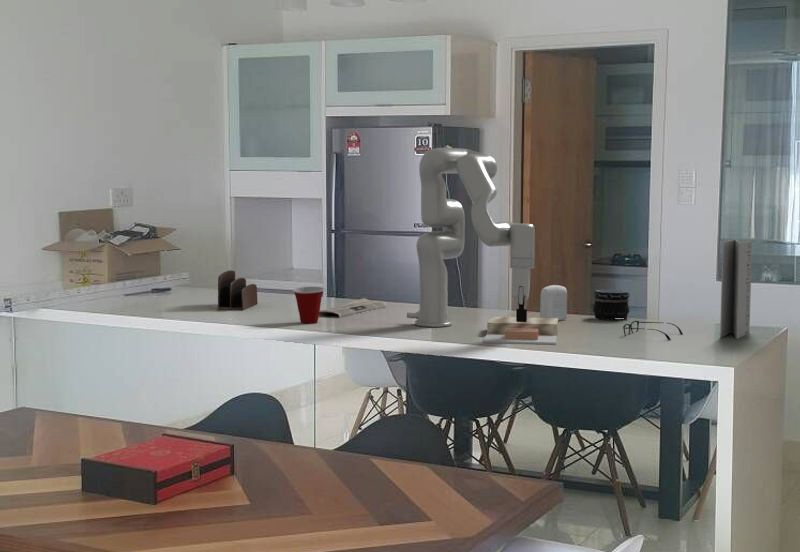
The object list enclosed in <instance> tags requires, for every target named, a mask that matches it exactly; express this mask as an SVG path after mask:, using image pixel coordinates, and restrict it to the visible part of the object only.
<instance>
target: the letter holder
mask: <svg viewBox="0 0 800 552" xmlns="http://www.w3.org/2000/svg"><path fill="white" fill-rule="evenodd" d="M217 281H218V282H217V310H218V311H241V312H242V311H243V312H244V310H247V309H249V308H252V307H254V306H256V305H258V288H257V287H258V286H257V285H256V284H255V283H251V284H248V285H247V279H246V278H244V277H238V278H236V271H235V270H231V269H230V270H227V271H226V270H225V271H224V272H222V273H220V275H218V279H217Z"/></svg>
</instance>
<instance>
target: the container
mask: <svg viewBox="0 0 800 552" xmlns="http://www.w3.org/2000/svg"><path fill="white" fill-rule="evenodd" d="M630 295H631V294H630V293H629V292H628V290H621V289H596V290H595V292H593V297H594V299H593V300H594V305H593V309H592V312H593V313H594V318H595V319H596V320H603V321H625V319H626V320H628V315H629V313H630V308H629V307H630V306H629V301H630V299H629V298H630ZM615 318H624V319H615Z"/></svg>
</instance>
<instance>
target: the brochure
mask: <svg viewBox="0 0 800 552" xmlns="http://www.w3.org/2000/svg"><path fill="white" fill-rule="evenodd" d="M721 253H722V258H721V259H722V260H721V288H720V289H721V291H720V292H721V293H720V294H721V295H720V323H719V325H720V327H719V338H723V337H724V336H727V335H729V334H731V333H732V334H733V335H734V337H735V338H736V339H737V340H738V339H739V338H742V337H744V336H745V335H747V334H748V335H749V334H750V329H751V328H750V324H751V293H752V292H751V290H752V289H751V287H752V263H753V262H752V257H753V240H751V239H750V240H744V241H739V240H737V239H731V240H726V241H722V252H721Z"/></svg>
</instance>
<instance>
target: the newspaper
mask: <svg viewBox="0 0 800 552" xmlns="http://www.w3.org/2000/svg"><path fill="white" fill-rule="evenodd" d="M385 307H387V308H388V305H387V303H386V302H384V301H381V300H380V301H379V300H370V299H367V298H366V297H364V298H363V297H362V298H359V299H358V300H355V301H352V302H349V303H347V304H343V305H340V306H335V307H331V308H327V309H320V312H319V317H324V315H325V316H330V315H336V316H333V318H338V319H341V318H346V316H347V317H351V316H354V315H353V314H356V315H359V314H358V313H360V314H363V313H362V312H365V313H367V312H366V311H369V312H372V311H371V310H374V311H377V310H376V309H378V310H381V309H380V308H383V309H386V308H385ZM350 315H351V316H350Z"/></svg>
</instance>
